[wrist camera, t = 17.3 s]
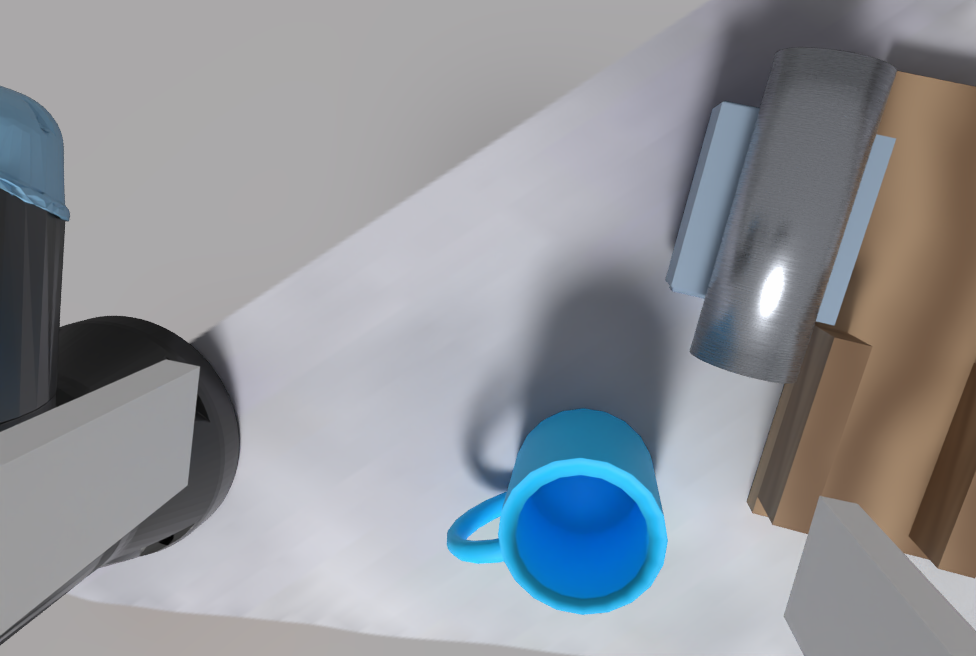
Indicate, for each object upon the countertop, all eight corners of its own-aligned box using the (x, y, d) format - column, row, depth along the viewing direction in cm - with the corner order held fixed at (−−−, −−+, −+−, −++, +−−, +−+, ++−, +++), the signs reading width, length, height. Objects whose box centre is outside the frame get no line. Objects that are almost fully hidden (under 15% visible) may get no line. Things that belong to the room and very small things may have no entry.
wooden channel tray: (746, 501, 42) (766, 542, 37) (884, 75, 37) (927, 58, 32) (924, 548, 41) (968, 595, 37) (1089, 117, 36) (1165, 105, 32)
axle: (802, 374, 36) (789, 390, 32) (702, 344, 38) (678, 354, 34) (897, 83, 33) (897, 56, 29) (783, 68, 35) (767, 41, 31)
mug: (628, 390, 42) (636, 437, 34) (672, 518, 43) (689, 592, 35) (437, 448, 45) (403, 504, 37) (483, 568, 46) (459, 648, 38)
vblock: (660, 285, 41) (668, 296, 36) (710, 102, 39) (725, 91, 34) (805, 319, 40) (831, 335, 36) (864, 134, 38) (899, 127, 34)
